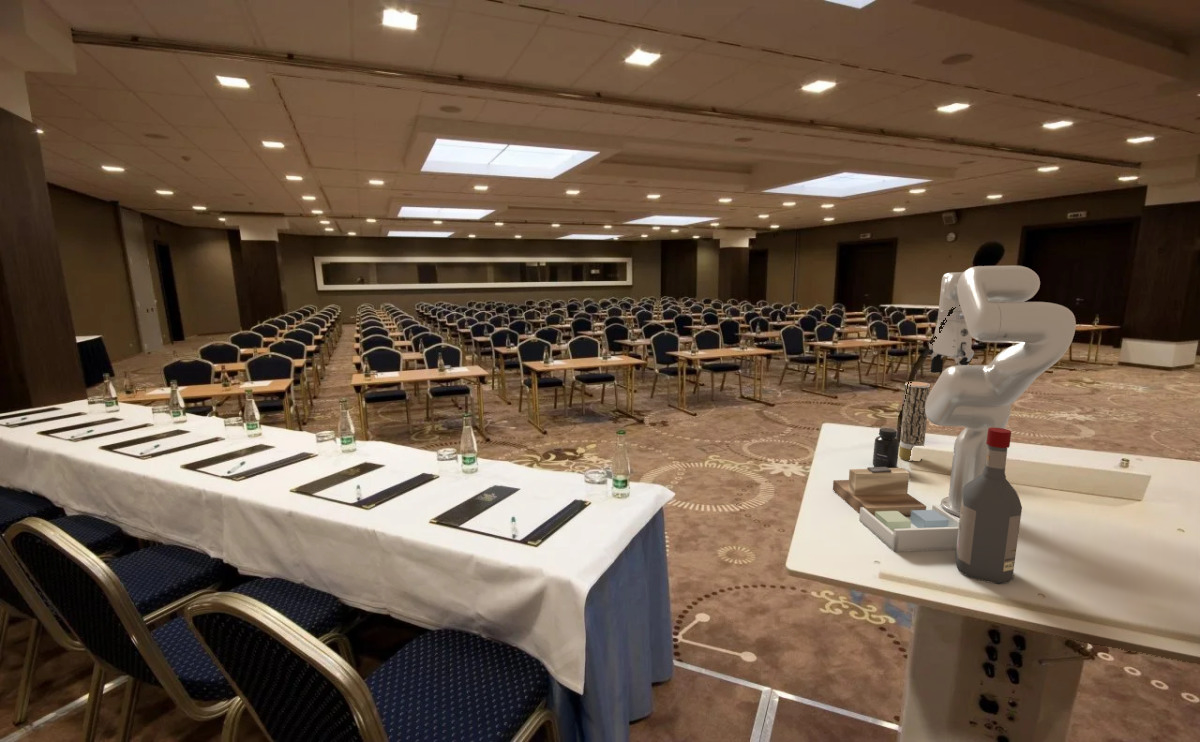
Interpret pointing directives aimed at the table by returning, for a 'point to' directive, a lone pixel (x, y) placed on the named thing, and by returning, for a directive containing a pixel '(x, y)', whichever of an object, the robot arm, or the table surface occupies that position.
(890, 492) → the wooden block
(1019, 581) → the table surface
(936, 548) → the tray
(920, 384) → the bark textured cylinder
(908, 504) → the wooden serving board
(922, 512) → the tile slate
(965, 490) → the liquor
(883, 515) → the tile sage
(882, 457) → the supplement bottle
